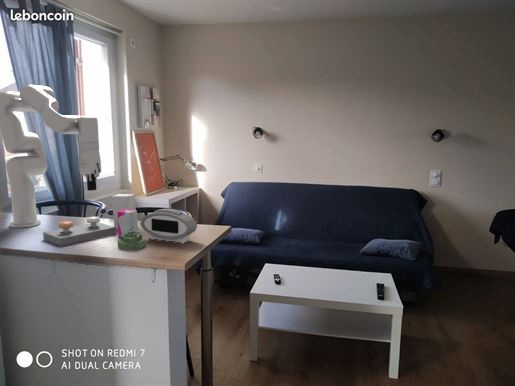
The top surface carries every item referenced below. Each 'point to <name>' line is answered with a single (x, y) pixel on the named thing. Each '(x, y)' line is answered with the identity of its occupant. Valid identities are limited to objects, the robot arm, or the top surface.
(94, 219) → the grey button
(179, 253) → the top surface
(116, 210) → the skincare box
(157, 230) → the alarm clock
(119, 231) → the supplement box
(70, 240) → the button panel
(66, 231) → the terracotta button
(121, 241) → the decorative artifact
